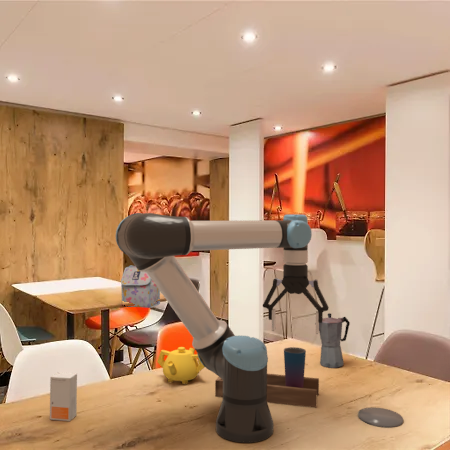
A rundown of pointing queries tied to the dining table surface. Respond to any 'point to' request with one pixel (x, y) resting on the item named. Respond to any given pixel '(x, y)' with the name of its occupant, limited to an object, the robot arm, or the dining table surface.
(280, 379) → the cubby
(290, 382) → the cup
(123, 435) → the dining table surface
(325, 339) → the moka pot
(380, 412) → the coaster
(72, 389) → the skincare box
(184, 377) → the teapot
